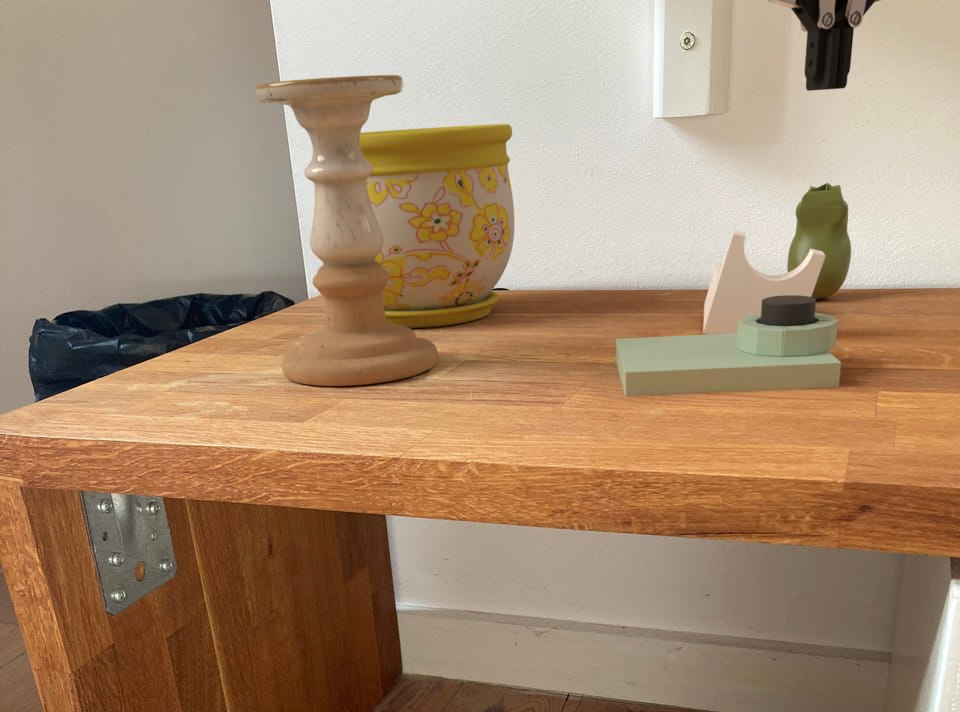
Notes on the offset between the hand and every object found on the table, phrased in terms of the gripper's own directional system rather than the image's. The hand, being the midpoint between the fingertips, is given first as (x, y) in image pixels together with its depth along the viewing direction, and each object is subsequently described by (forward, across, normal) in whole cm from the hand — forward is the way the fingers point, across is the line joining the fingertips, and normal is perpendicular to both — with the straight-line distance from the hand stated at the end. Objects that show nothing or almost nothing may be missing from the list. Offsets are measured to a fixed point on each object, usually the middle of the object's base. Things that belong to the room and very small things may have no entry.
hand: (825, 88), depth 80 cm
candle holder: (+18, -38, +2) cm, 42 cm away
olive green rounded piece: (+18, +6, +9) cm, 21 cm away
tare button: (+14, -11, -15) cm, 23 cm away
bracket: (+18, -5, 0) cm, 18 cm away
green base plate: (+18, -15, -13) cm, 27 cm away
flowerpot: (+18, -28, +22) cm, 40 cm away
